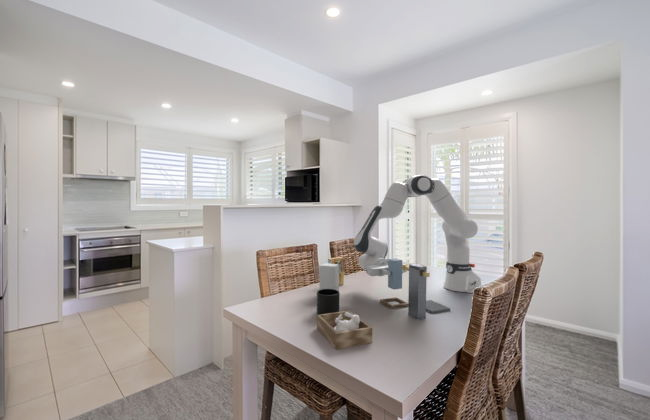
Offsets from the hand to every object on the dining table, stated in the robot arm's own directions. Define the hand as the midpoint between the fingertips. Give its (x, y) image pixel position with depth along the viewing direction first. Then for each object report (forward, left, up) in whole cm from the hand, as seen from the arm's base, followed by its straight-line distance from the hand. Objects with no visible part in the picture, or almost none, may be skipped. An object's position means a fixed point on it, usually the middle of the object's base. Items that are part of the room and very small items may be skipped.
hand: (396, 272), depth 138 cm
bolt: (0, +14, +3) cm, 14 cm away
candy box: (+12, -39, -15) cm, 44 cm away
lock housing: (0, +15, -15) cm, 21 cm away
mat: (-13, +9, -15) cm, 21 cm away
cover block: (0, -1, -7) cm, 7 cm away
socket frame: (0, -1, -15) cm, 15 cm away
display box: (+36, +20, -15) cm, 44 cm away
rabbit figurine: (+35, +22, -15) cm, 44 cm away
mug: (+32, -2, -15) cm, 36 cm away
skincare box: (+23, -23, -15) cm, 36 cm away
